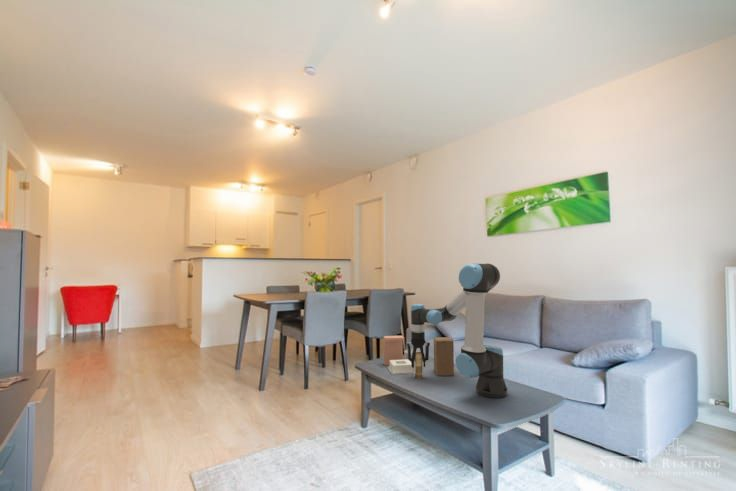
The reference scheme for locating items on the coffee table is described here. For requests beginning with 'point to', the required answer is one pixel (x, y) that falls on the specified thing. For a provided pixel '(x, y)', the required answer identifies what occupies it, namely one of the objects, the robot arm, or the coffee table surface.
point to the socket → (400, 367)
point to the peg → (418, 365)
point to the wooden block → (443, 356)
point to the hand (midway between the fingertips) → (418, 372)
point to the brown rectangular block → (393, 348)
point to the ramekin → (411, 353)
